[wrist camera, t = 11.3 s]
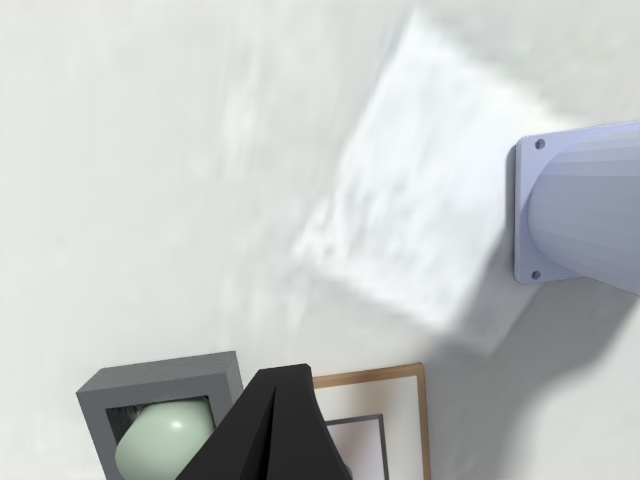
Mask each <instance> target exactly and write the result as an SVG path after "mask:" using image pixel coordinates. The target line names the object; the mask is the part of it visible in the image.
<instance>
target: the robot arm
mask: <svg viewBox="0 0 640 480" xmlns="http://www.w3.org/2000/svg"><path fill="white" fill-rule="evenodd" d="M537 140H538V141H539V144H540V145H539V148H538V149H536V148H535V143H536V141H537ZM534 271H536V274H535V275H534V276H533V277H532V273H533V272H534ZM514 276H515V279H516V280H517V281H518V282H520V283H522V284H533V283H541V282H548V281H556V280H563V279H571V278H578V277H585V276H587V277H590V278H593V279H595V280H598V281H601V282H603V283H606V284H608V285H611V286H614V287H616V288H619V289H622V290H624V291H627V292H630V293H632V294H635V295H638V296H640V121H634V122H626V123H619V124H611V125H604V126H597V127H589V128H582V129H574V130H567V131H559V132H552V133H544V134H537V135H530V136H525V137H522V138H521V139H520V140H519V141H518V142H517V145H516V184H515V265H514ZM175 480H353V479H352V478H351V476H350V474H349V472H348V470H347V468H346V466H345V464H344V462H343V460H342V458H341V456H340V454H339V452H338V450H337V448H336V446H335V444H334V441H333V439H332V437H331V435H330V433H329V430H328V428H327V425H326V423H325V420H324V418H323V416H322V413H321V411H320V408H319V405H318V402H317V399H316V396H315V392H314V385H313V379H312V372H311V367H310V366H309V365H307V364H306V363H305V364H297V365H290V366H282V367H275V368H267V369H260V370H259V371H258V372H257V373H256V374H255V376H254V377H253V378H252V380H251V381H250V382H249V384H248V385H247V387H246V388H245V390H244V391H243V392H242V394H241V395H240V397H239V398H238V399H237V401H236V402H235V403H234V405H233V406H232V408H231V409H230V410H229V412H228V413H227V414H226V416H225V417H224V418H223V420H222V421H221V422H220V424H219V425H218V426H217V428H216V429H215V430H214V432H213V433H212V434H211V436H210V437H209V438H208V439H207V441H206V442H205V443H204V445H203V446H202V447H201V448H200V449H199V451H198V452H197V453H196V454H195V456H194V457H193V458H192V459H191V460H190V462H189V463H188V464H187V465H186V466H185V468H184V469H183V470H182V471H181V473H180V474H179V475H178V476H177V477H176V479H175Z"/></svg>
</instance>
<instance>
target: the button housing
mask: <svg viewBox="0 0 640 480" xmlns="http://www.w3.org/2000/svg"><path fill="white" fill-rule="evenodd" d="M243 391H244V390H243V385H242V380H241V376H240V371H239V367H238V362H237V357H236V353H235V351H229V352H222V353H215V354H207V355H200V356H192V357H185V358H177V359H170V360H162V361H155V362H147V363H140V364H133V365H125V366H118V367H110V368H103V369H100V370H99V371H98V372H97V373H96V374H95V375H94V376H93V377H92V378H91V379H90V380H89V381H88V382H86V383H85V384H84V385H83V386H82V387H81V388H80V389H79V390H78V391H77V392H76V395H77V398H78V401H79V404H80V406H81V409H82V412H83V415H84V418H85V420H86V423H87V426H88V429H89V431H90V434H91V437H92V440H93V443H94V445H95V448H96V451H97V454H98V457H99V459H100V462H101V465H102V468H103V470H104V473H105V476H106V479H107V480H125V479H124V478H123V477H122V475H121V474H120V472H119V470H118V468H117V465H116V459H115V455H116V449H117V446H118V444H119V442H120V441H121V439H122V438H123V436H124V435H125V433H126V432H127V431H128V429H129V428H130V426H131V425H132V424H133V422H134V421H135V419H136V418H137V414H136V411H135V408H134V405H137V404H145V403H152V402H160V401H167V400H175V399H182V398H189V397H197V396H204V395H208V397H209V401H210V405H211V409H212V413H213V417H214V421H215V425H216V428H217V426H218V425H219V424H220V422H221V421H222V420H223V418H224V417H225V416H226V414H227V413H228V412H229V410H230V409H231V408H232V406H233V405H234V403H235V402H236V401H237V399H238V398H239V397H240V395H241V394H242V392H243Z"/></svg>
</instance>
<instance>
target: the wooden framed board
mask: <svg viewBox="0 0 640 480" xmlns="http://www.w3.org/2000/svg"><path fill="white" fill-rule="evenodd" d="M312 379H313V385H314V392H315V396H316V399H317V402H318V405H319V408H320V411H321V413H322V416H323V418H324V420H325V423H326V425H327V428H328V430H329V433H330V435H331V437H332V439H333V441H334V444H335V446H336V448H337V450H338V452H339V454H340V456H341V458H342V460H343V462H344V464H346V465H347V466H348V467H349V468H350V470H351V472H352V475H353V480H431V475H430V458H429V442H428V426H427V410H426V394H425V378H424V367H423V365H422V363H418V364H411V365H403V366H396V367H389V368H381V369H374V370H366V371H359V372H351V373H344V374H336V375H329V376H321V377H314V378H312Z"/></svg>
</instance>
